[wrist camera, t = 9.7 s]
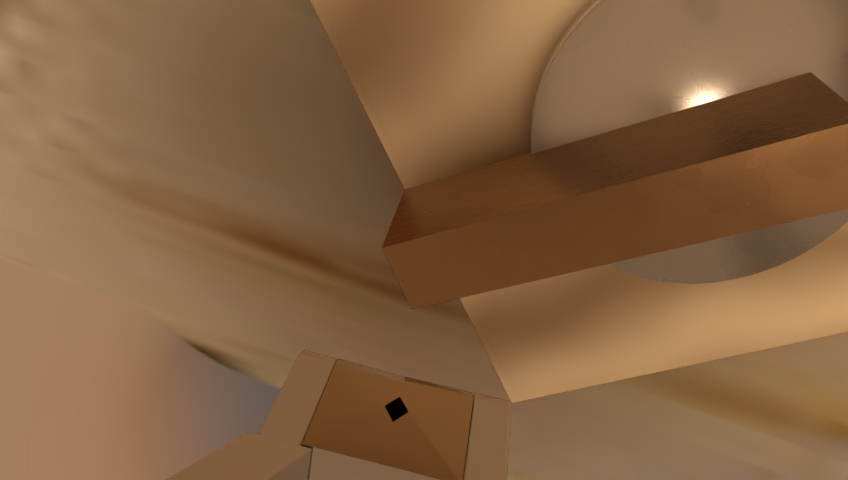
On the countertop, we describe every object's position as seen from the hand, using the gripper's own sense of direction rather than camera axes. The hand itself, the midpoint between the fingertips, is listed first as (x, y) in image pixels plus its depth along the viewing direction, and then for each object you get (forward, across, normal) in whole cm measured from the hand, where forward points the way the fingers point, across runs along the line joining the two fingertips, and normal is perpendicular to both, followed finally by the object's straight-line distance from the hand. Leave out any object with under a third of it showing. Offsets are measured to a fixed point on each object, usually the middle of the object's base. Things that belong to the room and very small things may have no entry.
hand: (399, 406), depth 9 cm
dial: (+15, -5, +1) cm, 16 cm away
